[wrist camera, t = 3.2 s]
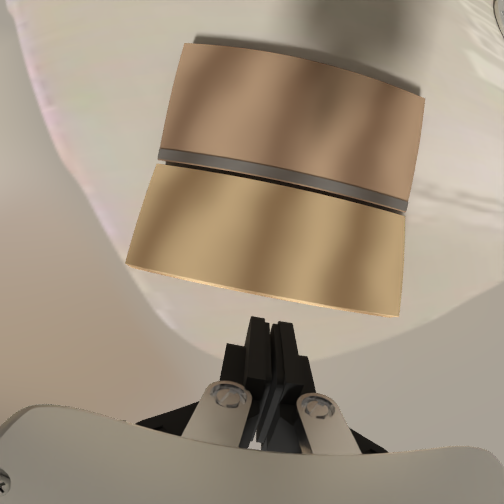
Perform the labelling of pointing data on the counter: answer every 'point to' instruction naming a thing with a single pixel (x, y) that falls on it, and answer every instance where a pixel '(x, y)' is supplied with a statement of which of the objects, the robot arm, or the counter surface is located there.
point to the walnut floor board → (293, 123)
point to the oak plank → (270, 241)
